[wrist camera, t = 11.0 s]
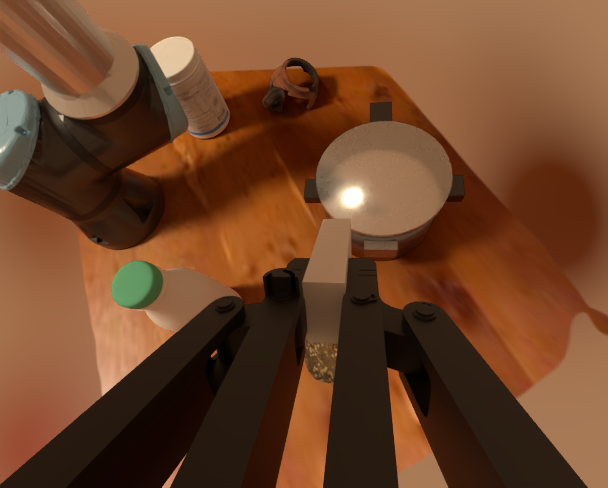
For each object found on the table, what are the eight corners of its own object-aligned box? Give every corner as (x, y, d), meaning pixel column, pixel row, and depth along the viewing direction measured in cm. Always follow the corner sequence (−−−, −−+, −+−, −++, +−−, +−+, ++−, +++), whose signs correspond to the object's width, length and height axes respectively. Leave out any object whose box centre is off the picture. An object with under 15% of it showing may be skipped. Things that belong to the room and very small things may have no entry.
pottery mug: (283, 78, 63) (295, 44, 56) (316, 110, 64) (333, 80, 56) (245, 107, 58) (253, 73, 50) (282, 141, 59) (295, 113, 51)
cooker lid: (322, 112, 46) (321, 106, 44) (442, 103, 42) (444, 97, 41) (312, 237, 38) (311, 233, 37) (455, 239, 35) (458, 235, 34)
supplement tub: (184, 115, 64) (136, 49, 50) (225, 97, 63) (188, 26, 50) (193, 148, 60) (144, 87, 46) (237, 129, 59) (200, 62, 46)
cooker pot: (316, 172, 53) (308, 137, 44) (443, 168, 49) (460, 129, 40) (308, 266, 47) (297, 246, 38) (452, 271, 43) (474, 250, 34)
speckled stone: (399, 346, 41) (404, 344, 36) (321, 395, 40) (316, 399, 36) (347, 269, 46) (346, 260, 41) (278, 312, 45) (269, 307, 41)
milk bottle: (208, 284, 49) (115, 238, 30) (251, 293, 47) (180, 250, 28) (192, 332, 46) (80, 314, 28) (237, 343, 44) (149, 333, 26)
